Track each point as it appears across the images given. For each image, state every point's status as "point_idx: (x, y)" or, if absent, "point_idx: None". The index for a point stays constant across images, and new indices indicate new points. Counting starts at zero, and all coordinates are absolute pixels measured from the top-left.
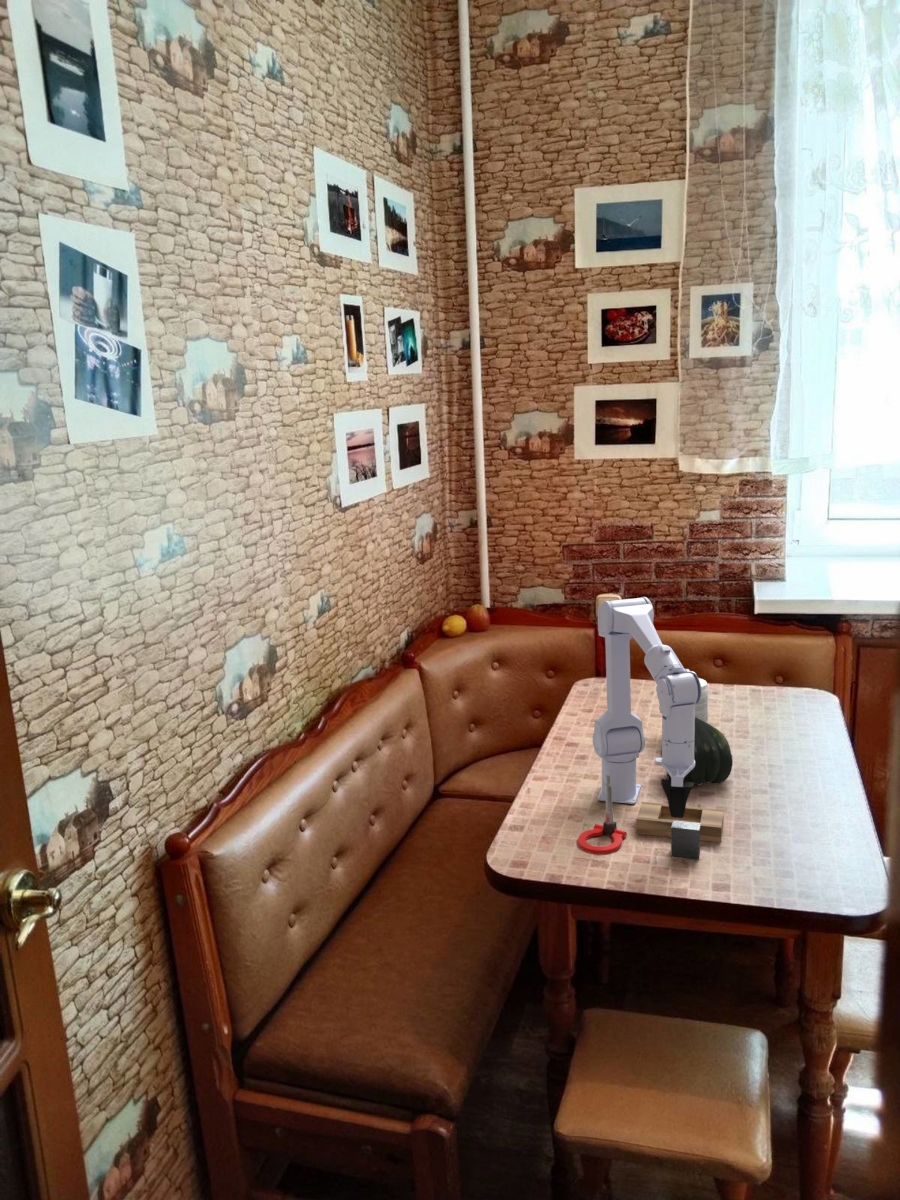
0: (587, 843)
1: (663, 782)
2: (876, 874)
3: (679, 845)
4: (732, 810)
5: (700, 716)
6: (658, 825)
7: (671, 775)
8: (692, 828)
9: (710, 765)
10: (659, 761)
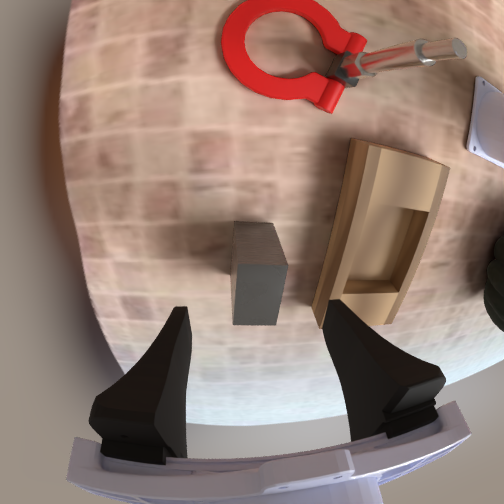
0: (258, 13)
1: (104, 424)
2: (235, 425)
3: (234, 254)
4: (418, 310)
5: None
6: (351, 199)
7: (74, 482)
8: (240, 311)
9: (499, 306)
10: (272, 490)
